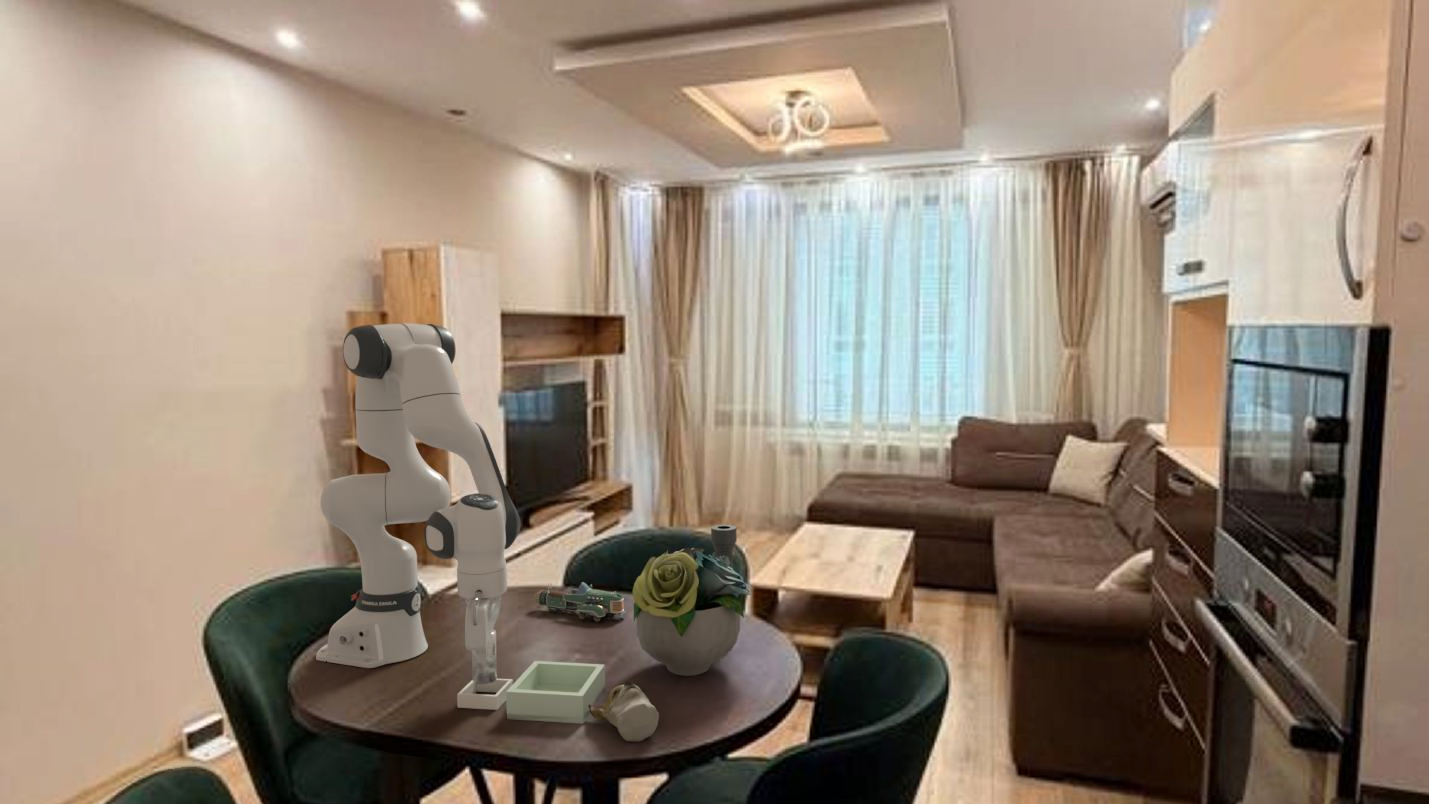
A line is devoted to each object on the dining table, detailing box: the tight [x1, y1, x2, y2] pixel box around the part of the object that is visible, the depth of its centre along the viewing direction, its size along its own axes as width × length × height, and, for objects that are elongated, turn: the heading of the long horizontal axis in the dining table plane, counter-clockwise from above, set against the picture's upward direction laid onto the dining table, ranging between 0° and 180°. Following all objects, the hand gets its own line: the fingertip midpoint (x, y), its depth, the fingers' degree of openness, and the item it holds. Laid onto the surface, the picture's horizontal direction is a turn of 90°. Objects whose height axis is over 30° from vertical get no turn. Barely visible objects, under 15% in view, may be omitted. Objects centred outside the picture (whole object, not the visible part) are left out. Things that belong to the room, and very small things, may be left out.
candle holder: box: [710, 524, 739, 598], centre depth 184 cm, size 6×6×25 cm
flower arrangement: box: [632, 547, 753, 677], centre depth 165 cm, size 25×25×24 cm
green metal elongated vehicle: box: [534, 581, 627, 622], centre depth 200 cm, size 10×25×8 cm, turn 70°
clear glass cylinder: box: [471, 628, 498, 684], centre depth 152 cm, size 4×4×9 cm
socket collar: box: [456, 678, 514, 711], centre depth 153 cm, size 8×8×2 cm
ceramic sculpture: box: [588, 681, 660, 743], centre depth 141 cm, size 11×9×15 cm
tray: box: [505, 660, 606, 725], centre depth 150 cm, size 14×14×5 cm
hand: (484, 655), depth 152 cm, fingers closed on clear glass cylinder, 4 cm apart
